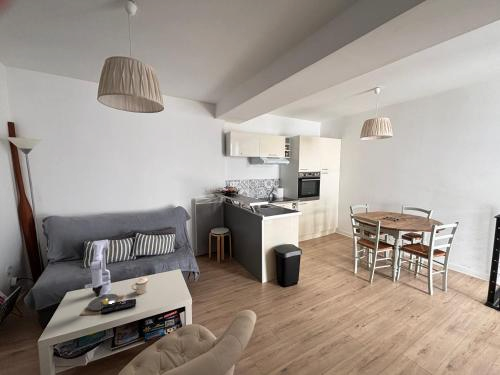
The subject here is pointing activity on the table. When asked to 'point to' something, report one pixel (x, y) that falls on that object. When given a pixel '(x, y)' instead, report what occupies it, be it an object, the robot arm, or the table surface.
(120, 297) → the base plate
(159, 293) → the table surface
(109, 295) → the handwheel
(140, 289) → the teacup with lid
